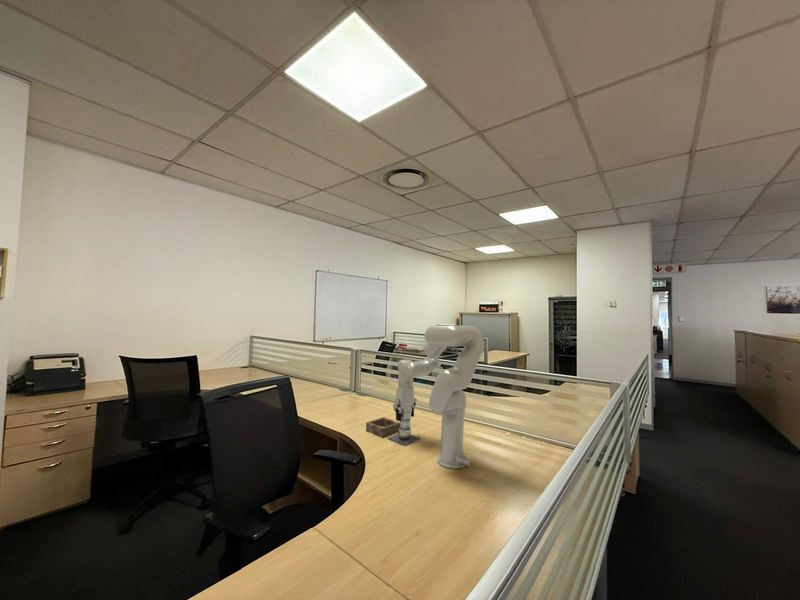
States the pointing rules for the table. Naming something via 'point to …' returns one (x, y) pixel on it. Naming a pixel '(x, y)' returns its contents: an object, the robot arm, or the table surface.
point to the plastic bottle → (405, 423)
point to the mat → (403, 441)
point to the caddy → (378, 424)
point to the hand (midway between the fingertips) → (405, 418)
